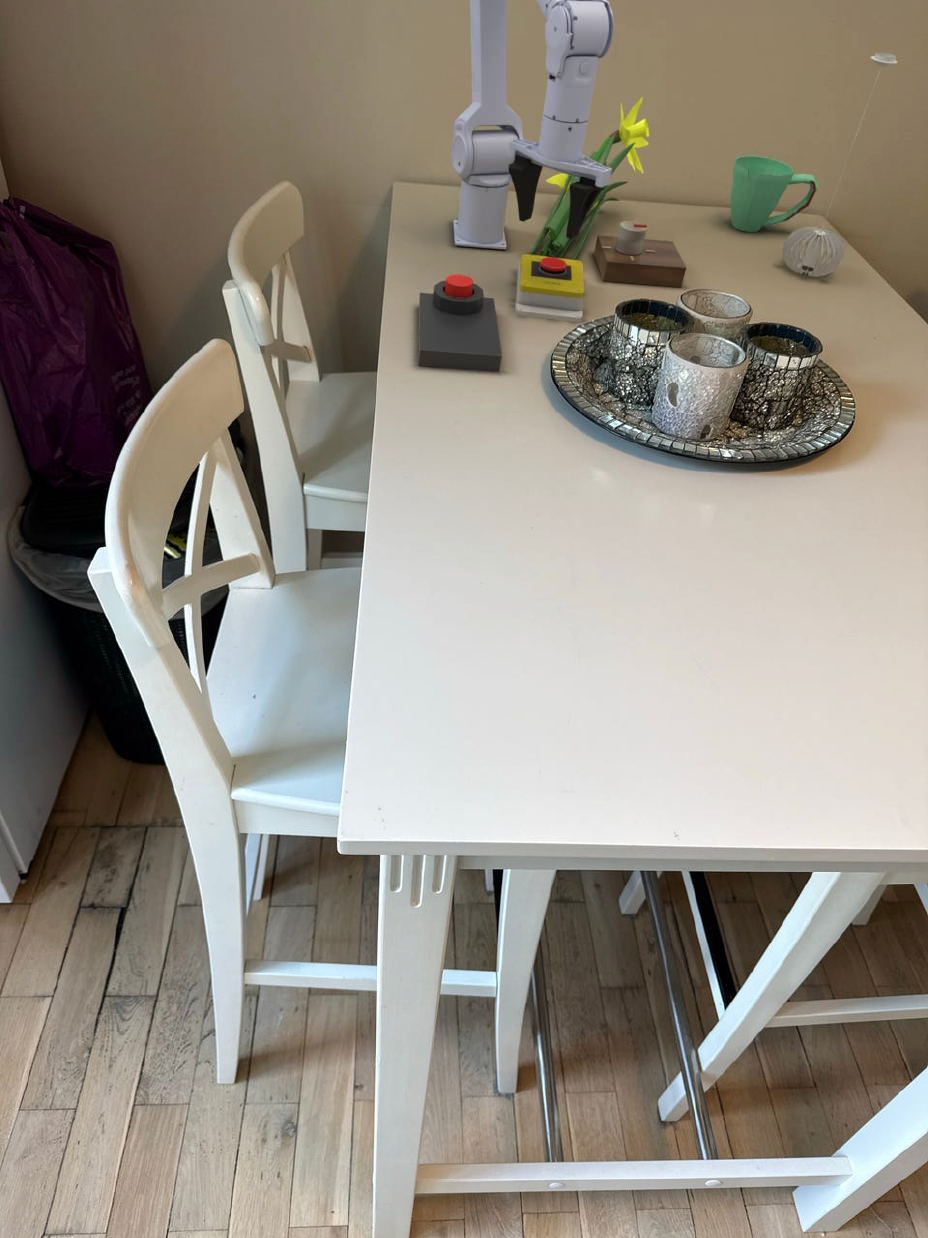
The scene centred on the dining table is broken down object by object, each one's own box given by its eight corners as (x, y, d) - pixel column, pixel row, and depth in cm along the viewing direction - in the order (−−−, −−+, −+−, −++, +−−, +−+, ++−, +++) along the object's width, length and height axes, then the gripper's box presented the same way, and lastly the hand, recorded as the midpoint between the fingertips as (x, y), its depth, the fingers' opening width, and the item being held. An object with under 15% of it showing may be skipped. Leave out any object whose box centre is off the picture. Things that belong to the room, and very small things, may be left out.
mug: (720, 232, 150) (738, 170, 143) (714, 212, 157) (731, 152, 151) (805, 244, 150) (828, 182, 143) (796, 223, 157) (817, 163, 150)
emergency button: (584, 248, 128) (588, 292, 118) (579, 278, 131) (582, 323, 121) (521, 240, 128) (519, 283, 117) (517, 270, 131) (514, 314, 120)
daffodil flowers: (481, 250, 137) (557, 133, 154) (552, 312, 141) (619, 190, 158) (541, 176, 123) (618, 55, 140) (618, 247, 127) (683, 121, 144)
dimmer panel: (593, 254, 138) (597, 233, 136) (667, 260, 140) (673, 240, 137) (602, 281, 131) (606, 260, 129) (681, 287, 132) (686, 266, 130)
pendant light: (828, 262, 145) (910, 51, 125) (840, 285, 139) (928, 67, 118) (773, 255, 145) (844, 42, 125) (782, 278, 139) (859, 57, 118)
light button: (444, 286, 117) (445, 273, 115) (471, 288, 117) (472, 275, 116) (445, 298, 114) (446, 284, 113) (472, 300, 114) (474, 287, 113)
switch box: (418, 305, 120) (420, 276, 117) (491, 310, 121) (495, 282, 118) (418, 366, 108) (420, 335, 105) (499, 371, 109) (503, 341, 106)
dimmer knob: (617, 253, 132) (622, 227, 129) (613, 243, 134) (618, 217, 132) (643, 255, 132) (649, 229, 129) (638, 245, 135) (644, 219, 132)
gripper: (631, 125, 109) (609, 236, 119) (534, 96, 115) (520, 205, 124) (603, 135, 105) (582, 250, 115) (504, 105, 111) (491, 216, 120)
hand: (548, 227), depth 119 cm, fingers open, 7 cm apart
